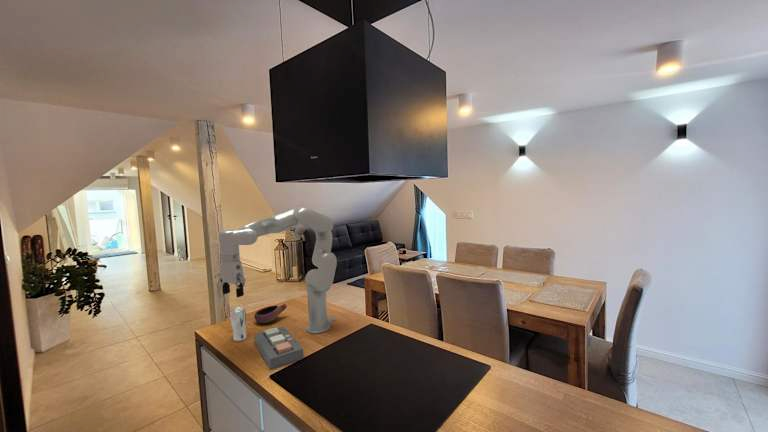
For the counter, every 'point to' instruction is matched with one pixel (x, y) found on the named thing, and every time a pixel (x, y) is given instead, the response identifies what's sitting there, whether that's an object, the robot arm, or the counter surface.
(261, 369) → the counter surface
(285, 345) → the terracotta key
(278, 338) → the white key
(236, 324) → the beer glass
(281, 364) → the keyguard board
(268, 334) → the sage key
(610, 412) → the counter surface
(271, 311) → the bowl
